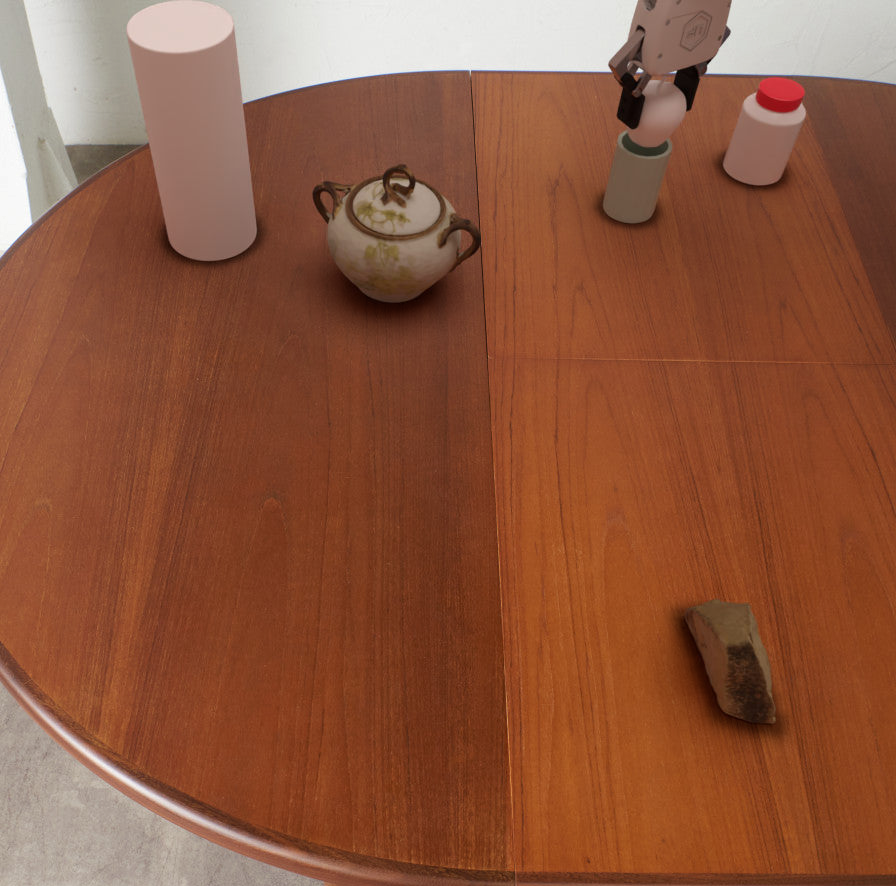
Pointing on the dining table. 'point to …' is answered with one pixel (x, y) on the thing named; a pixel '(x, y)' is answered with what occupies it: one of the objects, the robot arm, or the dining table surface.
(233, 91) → the tall pillar cylinder
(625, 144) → the cup
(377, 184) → the sugar bowl
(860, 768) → the dining table surface
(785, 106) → the pill bottle
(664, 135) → the apple
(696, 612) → the rock
